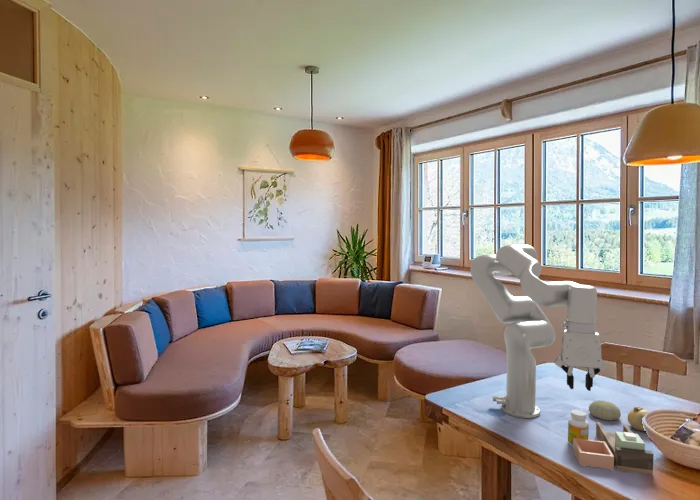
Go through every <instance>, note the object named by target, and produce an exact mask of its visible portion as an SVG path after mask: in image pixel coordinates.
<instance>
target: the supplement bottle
mask: <svg viewBox="0 0 700 500" xmlns="http://www.w3.org/2000/svg"><path fill="white" fill-rule="evenodd" d="M570 411H571V412H570V417H569V418H568V419H567V420H568V423H567V424H568V426H567V443H568V444H569V445H570V446H571V447H573V438H578V439H587V440H589V434H590V433H589V431H590V429H589V428H590V424H589V421H588V420H587V413H586V412H585V411H583V410H580V409H572V410H570Z"/></svg>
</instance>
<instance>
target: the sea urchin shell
mask: <svg viewBox="0 0 700 500" xmlns="http://www.w3.org/2000/svg"><path fill="white" fill-rule="evenodd" d="M588 411H589V413H590V415H592V416H593V417H595V418H598V419H600V420H604V421H616V420H618V419H620V418H621V410H620V409H619V407H618V406H617V404H614V403H613V402H609V401H605V400H601V399H600V400H594V401H592V402H591V403H590V404H589V407H588Z"/></svg>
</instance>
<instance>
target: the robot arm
mask: <svg viewBox="0 0 700 500" xmlns="http://www.w3.org/2000/svg"><path fill="white" fill-rule="evenodd" d="M538 259H539V258H538V252H537V251H536V249H535V248H534V247H533V246H531V245H529V244H506V245H502V246H501V247H500V248H499V249H498V250H497V252H496V254H481V255H478V256H476V257H474V258H473V260H471V263H470V276H471V279H472V282H473V283H474V285H475V287H476V288H477V289H478V290H479V291H480V292H481V294H482V295H483V296H484V298H485V300H486V301H487V304H488V305H489V307H490V309H491V311H493V314H494V315H495V317H496V318H497V319H498V321H499V322H500V323H502V324H508V325H507V326H506V327H505V328H504V331H503V335H504V344H505V348H506V393H504V395H501V396H499V395H492V402H496V404H497V405H501V410H502V411H503V412H504V413H506V414H508V415H509V416H512V417H516V418H521V419H532V418H537V417H539V416H540V415H541V408H539V406H537V405H536V395H537V394H536V391H537V389H536V387H537V384H536V383H537V362H536V358H535V356H534V354H533V352H532V351H531V350H532V349H537V348H539V349H540V348H544V347H546V348H547V347H548V346H551V345H552V344H553V343H555V340H556V331H555V329H554V326H553V325H552V323H551V322H550V319H549V318H548V317H547V315H546V313H544V311H543V309H542V308H541V307H545V308H552V307H560V306H561V307H564V306H565V307H566V306H567V308H566V309H567V310H566V312H567V313H566V321H564V322H561V328H565V329H564V331H563V333H562V335H563V336H562V340H561V346H560V353H559V355H558V356H557V357H556V358H555V360H554V362H553V363H554V364H555V366H557V367H559V368H560V369H562V370H563V371H564V372H565V373H566V386H568V387H569V389H570V390H574V386H575V385H574V383H575V382H574V381H575V379H574V378H575V376H574V375H573V372H574V371H573V370H574V368H583V369H586V370H587V372H586V374H585V385H584V386H585V388H586V390H587V391H589V392H591V389H592V388H593V386H594V385H593V384H594V378H595V376H596V375H598V374H599V373H600V372H602V371H604V370H606V369H607V368H608V366H607V365H606V363H605V361H604V360H603V357H602V345H601V339H600V338H601V336H600V334H599V332H598V331H597V303H598V301H597V299H598V290H597V288H596V287H595V286H592V285H588V284H580V283H577V282H574V281H571V280H562V281H560V280H557V281H556V280H555V281H544V280H542V279H540V278H539V277H540V276H541V273H542V271H543V270H542V268H543V267H542V265H541V262H540V261H538ZM503 276H504V277H505V276H507V277H508V276H514V277H516V278H517V279H518V280H519V285H520V288H521V289H522V292H523V293H524V295H521V296H519V295H517V296H514V295H512V294H511V293H510V291H509V290H508V289H507V287H506V285H505V284H504V283H502V282H501V281H500V280H498V279H496V278H495V277H503ZM540 306H541V307H540Z"/></svg>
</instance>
